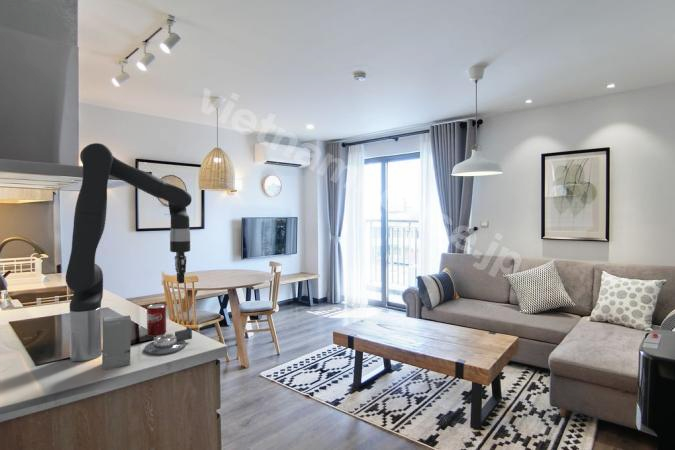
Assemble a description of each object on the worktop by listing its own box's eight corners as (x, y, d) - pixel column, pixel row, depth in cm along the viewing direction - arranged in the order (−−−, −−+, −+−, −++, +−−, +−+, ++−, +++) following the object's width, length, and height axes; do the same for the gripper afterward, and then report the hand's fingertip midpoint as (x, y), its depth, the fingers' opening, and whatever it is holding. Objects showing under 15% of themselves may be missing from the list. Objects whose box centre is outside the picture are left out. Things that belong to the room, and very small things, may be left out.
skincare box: (102, 370, 123) (101, 322, 122) (102, 362, 129) (101, 317, 128) (131, 365, 127) (131, 318, 126) (130, 357, 133) (129, 313, 132)
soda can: (158, 337, 154) (158, 308, 154) (143, 336, 156) (142, 307, 155) (169, 332, 161) (169, 304, 161) (155, 330, 163) (154, 303, 162)
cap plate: (150, 358, 133) (150, 354, 133) (140, 347, 143) (140, 343, 143) (190, 349, 142) (190, 345, 142) (178, 339, 153) (178, 336, 152)
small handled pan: (157, 350, 137) (157, 337, 137) (151, 344, 143) (150, 332, 143) (196, 341, 146) (196, 329, 146) (188, 336, 152) (188, 325, 152)
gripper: (193, 240, 148) (193, 284, 148) (187, 238, 160) (187, 278, 160) (172, 241, 144) (172, 286, 144) (167, 238, 156) (168, 280, 156)
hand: (180, 282), depth 152 cm, fingers open, 3 cm apart
